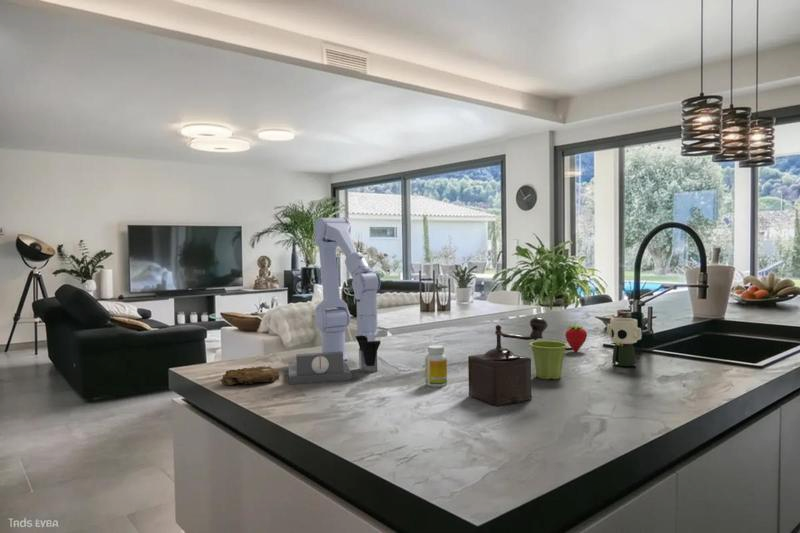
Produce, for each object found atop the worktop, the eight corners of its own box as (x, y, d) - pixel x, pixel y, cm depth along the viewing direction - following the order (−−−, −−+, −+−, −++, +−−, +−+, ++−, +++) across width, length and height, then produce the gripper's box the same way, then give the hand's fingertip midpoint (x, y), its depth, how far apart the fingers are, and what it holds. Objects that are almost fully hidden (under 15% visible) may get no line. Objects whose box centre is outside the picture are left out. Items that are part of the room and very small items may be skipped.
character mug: (599, 363, 156) (599, 318, 155) (615, 360, 159) (615, 316, 159) (632, 371, 146) (632, 322, 146) (649, 367, 150) (649, 320, 149)
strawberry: (591, 351, 174) (591, 320, 173) (576, 354, 169) (575, 322, 169) (576, 348, 178) (576, 318, 178) (561, 351, 174) (560, 320, 174)
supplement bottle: (421, 384, 137) (420, 346, 136) (436, 380, 140) (436, 343, 140) (436, 388, 133) (435, 349, 132) (451, 384, 136) (451, 346, 136)
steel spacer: (359, 369, 156) (358, 348, 155) (374, 368, 157) (374, 347, 156) (361, 372, 151) (361, 351, 151) (377, 371, 152) (377, 350, 152)
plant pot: (574, 376, 142) (573, 343, 142) (557, 383, 135) (556, 348, 135) (541, 371, 148) (541, 339, 148) (523, 377, 141) (523, 344, 141)
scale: (288, 369, 157) (287, 345, 157) (344, 365, 160) (343, 341, 160) (289, 384, 140) (288, 357, 139) (351, 379, 143) (350, 353, 143)
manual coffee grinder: (497, 407, 116) (496, 323, 115) (467, 396, 126) (466, 318, 125) (552, 397, 123) (551, 317, 123) (519, 386, 133) (518, 313, 132)
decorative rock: (230, 393, 134) (286, 385, 143) (231, 377, 134) (286, 369, 143) (213, 382, 143) (267, 375, 152) (214, 367, 143) (267, 360, 152)
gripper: (385, 317, 147) (386, 367, 148) (376, 311, 161) (377, 357, 162) (359, 318, 146) (361, 369, 146) (353, 312, 160) (354, 358, 160)
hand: (368, 362), depth 154 cm, fingers open, 7 cm apart
